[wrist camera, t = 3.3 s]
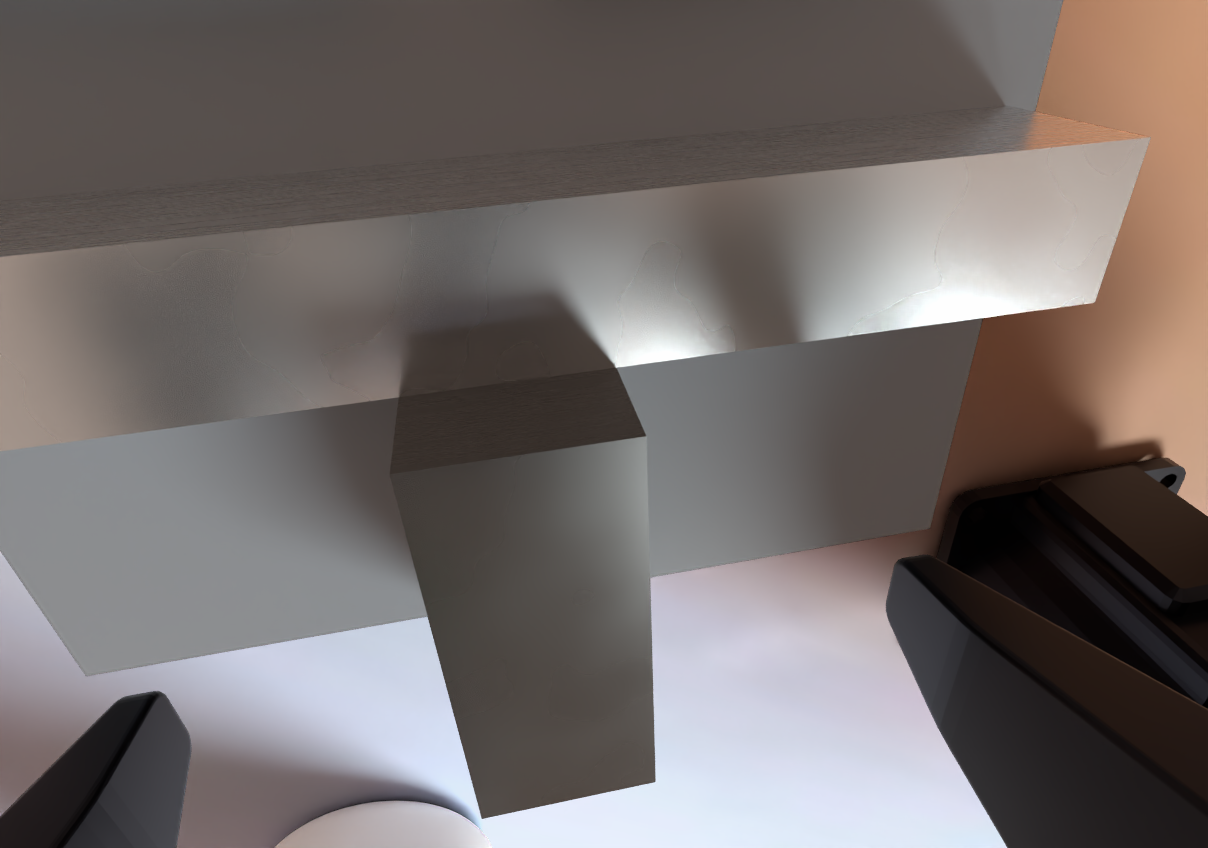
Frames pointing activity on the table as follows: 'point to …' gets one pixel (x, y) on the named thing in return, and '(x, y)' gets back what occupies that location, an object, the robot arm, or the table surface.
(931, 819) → the table surface
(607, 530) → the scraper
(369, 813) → the water bottle
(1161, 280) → the table surface
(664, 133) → the board
